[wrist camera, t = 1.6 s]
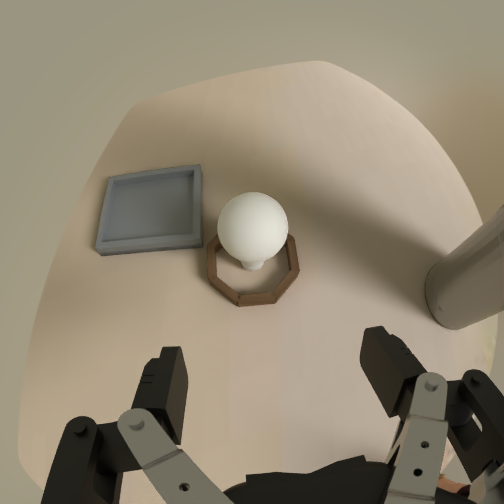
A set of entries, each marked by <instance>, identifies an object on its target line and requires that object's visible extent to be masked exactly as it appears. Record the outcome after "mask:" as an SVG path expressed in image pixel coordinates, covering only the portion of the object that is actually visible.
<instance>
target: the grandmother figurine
mask: <svg viewBox="0 0 504 504" xmlns="http://www.w3.org/2000/svg"><path fill="white" fill-rule="evenodd" d="M470 486H471V485H465V484H460V483H455V482H453V481H451V480H449V479H447V478H446V475H445V474H440V475H439V479H438V483H437V487H439V488H442V489H444V490H447V491H449V492H451V493H454V494H456V495H459V496H462V497H464V498H467V499H468V497H469V495H470Z"/></svg>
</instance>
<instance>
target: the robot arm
mask: <svg viewBox="0 0 504 504" xmlns="http://www.w3.org/2000/svg"><path fill="white" fill-rule="evenodd" d="M425 294H426V300H427V303H428V306H429V309H430V311H431V313H432V315H433V316H434V318H435V319H436V320H437V321H438V322H439V323H440V324H441V325H442V326H444V327H446V328H448V329H452V330H458V329H461V328H464V327H466V326H469V325H471V324H474V323H476V322H479V321H481V320H483V319H486V318H488V317H490V316H493V315H495V314H497V313H499V312H501V311H503V310H504V205H503V206H502V207H501V208H500V209H499V210H498V211H497V212H496V213H495V214H494V215H493V216H491V217H490V218H489V219H488V220H487V221H486V222H485V223H484V224H483V225H482V226H481V227H480V228H479V229H477V230H476V231H475V232H474V233H473V234H472V235H471V236H470V237H469V238H467V239H466V240H465V241H464V242H463V243H462V244H461V245H459V246H458V247H457V248H456V249H455V250H453V251H452V252H451V253H450V254H449V255H447V256H446V257H445V258H444V259H443V260H441V261H440V262H439V263H438V264H436V265H435V266H434V267H433V268H432V269H431V271H430V272H429V274H428V276H427V279H426V285H425ZM360 364H361V367H362V369H363V371H364V373H365V375H366V376H367V378H368V380H369V382H370V384H371V385H372V387H373V389H374V391H375V393H376V394H377V396H378V398H379V400H380V402H381V404H382V405H383V407H384V409H385V411H386V413H387V415H388V417H389V418H391V417H394V416H397V415H399V417H400V420H399V423H398V426H397V429H396V432H395V436H394V439H393V442H392V445H391V448H390V451H389V453H388V456H387V458H386V460H385V462H384V463H382V462H371V461H367V462H366V459H365V457H364V455H361V456H357V457H353V458H349V459H345V460H341V461H337V462H335V463H332V464H330V465H328V466H326V467H324V468H321V469H319V470H317V471H314V472H312V473H308V474H300V473H283V472H272V473H262V474H249V475H246V482H243V483H240V484H237V485H235V486H232V487H231V488H229V489H227V490H225V491H224V492H222V491H221V490H220V489H219V488H218V487H217V486H216V485H215V484H214V483H213V482H212V481H211V480H210V479H209V478H208V477H207V476H206V475H205V474H204V473H203V472H202V471H201V470H200V469H199V468H198V466H197V465H196V464H195V463H194V462H193V461H192V460H191V459H190V457H189V456H188V455H187V454H186V453H185V452H184V451H183V450H182V449H178V447H177V446H176V445H181V437H182V429H183V421H184V413H185V405H186V398H187V390H188V374H187V370H186V366H185V362H184V357H183V353H182V349H181V347H180V346H175V347H163V348H162V350H161V354H160V357H159V358H152V359H151V360H150V361H149V362H148V363H147V364H146V365H145V367H144V370H143V373H142V376H141V379H140V383H139V385H138V388H137V391H136V394H135V398H134V401H133V404H132V407H131V409H130V410H128V411H126V412H124V413H123V414H122V415H121V416H120V417H119V419H118V421H116V422H112V423H105V424H98V425H97V424H96V423H95V421H94V420H93V419H91V418H89V417H86V416H79V417H76V418H74V419H72V420H70V421H69V422H68V423H67V425H66V427H65V429H64V432H63V434H62V437H61V440H60V443H59V446H58V448H57V451H56V454H55V457H54V460H53V463H52V466H51V470H50V473H49V476H48V479H47V483H46V486H45V490H44V494H43V497H42V501H41V504H119V500H120V492H121V485H122V478H123V472H127V471H134V470H140V469H143V471H144V473H145V474H146V476H147V477H148V478H149V480H150V481H151V483H152V484H153V486H154V487H155V488H156V490H157V491H158V492H159V494H160V495H161V497H162V498H163V499H164V500H165V502H166V503H167V504H504V396H503V395H502V393H501V392H500V391H499V390H498V388H497V387H496V386H495V385H494V383H493V382H492V381H491V380H490V378H489V377H488V376H487V375H486V374H485V373H484V372H482V371H480V370H475V369H472V370H468V371H466V372H465V373H464V375H463V377H462V379H461V380H455V381H446V380H445V378H444V377H442V376H441V375H439V374H437V373H433V372H427V371H426V370H425V368H424V367H423V366H422V364H421V363H420V362H419V361H418V359H417V358H416V357H415V356H414V354H412V352H411V351H410V349H409V348H407V346H406V344H405V343H404V342H403V341H402V340H401V339H400V338H398V337H396V336H395V335H393V334H392V335H389V333H388V332H387V331H386V330H385V328H384V327H383V326H376V327H371V328H366V329H365V331H364V335H363V341H362V346H361V352H360ZM473 413H474V414H475V415H476V417H477V418H478V420H479V421H480V423H481V425H482V432H481V430H480V429H479V427H478V426H477V424H476V422H475V421H474V419H473V418H472V415H473ZM447 437H448V439H449V441H450V442H451V444H452V446H453V448H454V450H455V452H456V454H457V455H458V457H459V459H460V461H461V463H462V465H463V467H464V469H465V471H466V473H467V475H468V477H469V479H470V481H471V483H472V484H471V486H470V495H469V497H468V499H467V498H464V497H462V496H459V495H456V494H454V493H451V492H449V491H447V490H444V489H442V488H439V487H437V483H438V479H439V475H440V470H441V466H442V461H443V456H444V450H445V444H446V438H447Z"/></svg>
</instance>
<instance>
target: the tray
mask: <svg viewBox="0 0 504 504" xmlns="http://www.w3.org/2000/svg"><path fill="white" fill-rule="evenodd" d="M200 247H203V239H202V169H201V164H199V165H190V166H181V167H173V168H165V169H158V170H151V171H144V172H138V173H131V174H125V175H119V176H114V177H109V180H108V185H107V189H106V193H105V198H104V202H103V207H102V212H101V217H100V222H99V228H98V233H97V239H96V246H95V250H96V251H97V252H98V253H99V254H100V255H101V256H108V255H119V254H130V253H141V252H153V251H164V250H176V249H188V248H200Z"/></svg>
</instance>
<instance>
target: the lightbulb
mask: <svg viewBox="0 0 504 504" xmlns="http://www.w3.org/2000/svg"><path fill="white" fill-rule="evenodd" d="M217 231H218V237H219V240H220V242H221V244H222V246H223V247H224V249H225V250H226V251H227V252H228V253H229V254H230V255H231V256H233V257H234V258H236V259H238V260H240V261H241V264H242V266H243V267H244V268H245V269H246V270H248V271H257V270H259V269H260V268H261V267H262V266H263V264H264V261H265V260H268V259H269V258H271V257H273V256H274V255H275V254H276V253H278V252H279V250H280V249H281V248H282V246H283V245H284V243H285V241H286V238H287V234H288V221H287V217H286V214H285V212H284V210H283V208H282V207H281V205H280V204H279V203H278V202H277V201H276V200H274V199H273V198H271V197H270V196H268V195H266V194H263V193H258V192H247V193H243V194H240V195H238V196H236V197H234V198H232V199H231V200H230V201H228V202H227V204H226V205H225V206H224V207H223V209H222V211H221V213H220V215H219V218H218V224H217Z"/></svg>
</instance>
